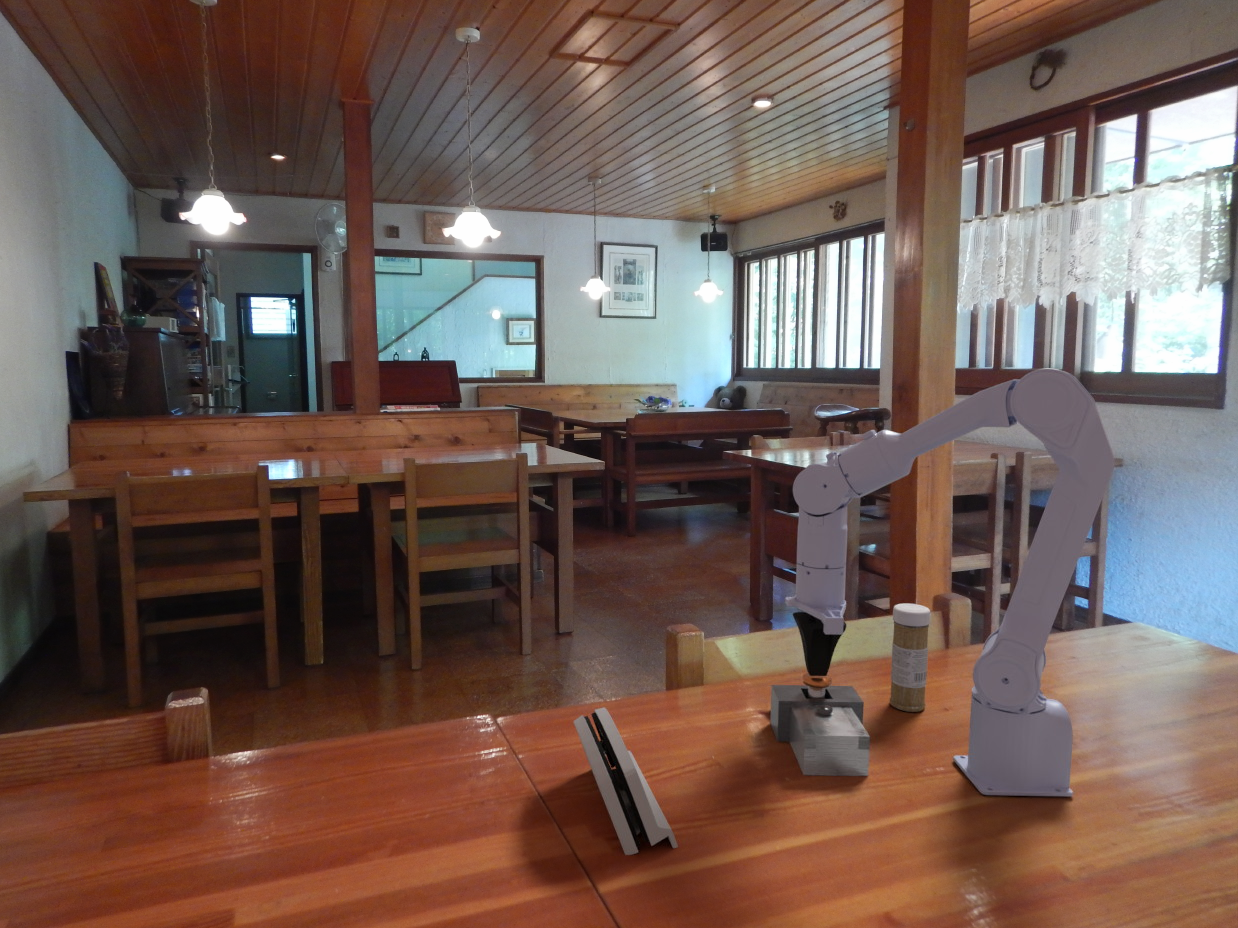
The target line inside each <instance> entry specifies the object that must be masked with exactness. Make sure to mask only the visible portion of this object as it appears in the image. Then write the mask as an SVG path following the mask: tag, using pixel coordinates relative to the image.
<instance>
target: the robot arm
mask: <svg viewBox="0 0 1238 928" xmlns="http://www.w3.org/2000/svg"><path fill="white" fill-rule="evenodd" d="M1017 423H1018V424H1019V425H1021V426H1022V427H1023V428H1024V429H1025V430H1026V431H1027V432H1029V433H1030V434H1031V435H1033V436H1034V437H1036V438H1037V439H1038V440H1039V441H1040V442H1041V443H1042V444H1043V446H1044V448H1045V450H1046V451H1047V453H1048V455H1050V457H1051V459H1052V460H1053V462H1054V463H1055V465H1056V467H1057V468H1058V473H1057V476H1056V478H1055V482H1054V484H1053V486H1052V489H1051V492H1050V494H1049V497H1048V499H1047V502H1046V505H1045V507H1044V511H1043V513H1042V514H1041V515H1042V516H1041V518H1040V520H1039V524H1038V526H1037V529H1036V531H1035V534H1034V537H1033V540H1032V542H1031V545H1030V548H1029V550H1028V552H1027V555H1026V558H1025V561H1024V564H1023V566H1022V568H1021V572H1020V574H1019V577H1018V579H1017V581H1016V584H1015V588H1014V589H1013V593H1012V595H1011V598H1010V601H1009V603H1008V605H1007V609H1006V610H1005V614H1004V616H1003V619H1002V621H1001V624H1000V626H999V627H998V628H997V629H996V630H995V631H993V632H992V633H990V635H989V636H988V637H987V638H986V640H985V641H984V644H983V648H982V652H981V654H980V656H979V658H977V660H976V662H975V664H974V665H973V666H974V667H973V669H972V681H973V684H974V685H973V686H972V688H971V697H970V698H971V699H970V714H969V715H970V717H969V720H970V721H969V735H968V736H969V738H968V749H967V750H968V753H967V755H957V754H956V755H954V756H953V757H952V759H953V762H955V764H956V765H957V766H958V767H959V768H960V770H961V771H962V772H963V774H964V775H965V776H966V777H967V778H968V779H969V781H971V783H972V784H973V785H974V787H975V788H976V789H977V790H978V791H979V793H980V794H982V795H985V796H1019V797H1020V796H1022V797H1023V796H1026V797H1073V796H1074V791H1073V790H1072V789H1071V788H1070V786H1071V785H1070V784H1071V783H1070V782H1071V772H1072V771H1071V769H1072V755H1073V745H1074V743H1073V742H1074V741H1073V740H1074V735H1073V734H1074V733H1073V724H1072V720H1071V717H1070V714H1069V712H1068V711H1067V709H1066V707H1065V706H1064V704H1063V703H1062V702H1060V701H1059V700H1057V699H1052V698H1047V697H1046V695H1044V694H1043V691H1042V690H1041V688H1042V682H1041V681H1042V680H1041V679H1042V676H1043V675H1042V674H1043V672H1044V670H1045V667H1046V664H1047V654H1046V650H1045V649H1046V645H1047V642H1048V639H1049V637H1050V634H1051V630H1052V627H1053V624H1054V622H1055V620H1056V618H1057V615H1058V612H1059V609H1060V607H1061V605H1062V602H1063V599H1064V597H1065V595H1066V592H1067V590H1068V587H1069V584H1070V582H1071V579H1072V577H1073V574H1074V571H1075V569H1076V567H1077V565H1078V562H1079V559H1080V556H1081V553H1082V552H1083V548H1084V546H1085V543H1086V542H1087V541H1086V540H1087V539H1088V536H1089V534H1090V531H1091V528H1092V526H1093V524H1094V521H1095V519H1096V515H1097V514H1098V511H1099V508H1100V506H1101V502H1102V500H1103V498H1104V495H1105V493H1106V490H1107V487H1108V485H1109V482H1110V480H1111V477H1112V475H1113V472H1114V470H1115V464H1116V461H1115V455H1114V452H1113V449H1112V447H1111V444H1110V441H1109V438H1108V435H1107V432H1106V430H1105V427H1104V424H1103V420H1102V418H1101V415H1100V412H1099V408H1098V406H1097V403H1096V401H1095V398H1094V397H1093V396H1092V395H1091V394H1090V392H1089V391H1088V390H1087V388H1085V386H1084V385H1083V384H1082V383H1081V381H1080V380H1079V379H1077V377H1076V376H1075V375H1073V374H1072V373H1069V372H1067V371H1065V370H1061V369H1057V368H1049V367H1047V368H1040V369H1035V370H1032V371H1030V372H1028V373H1027V374H1025V375H1024V376H1023V377H1021V378H1020V379H1017V378H1015V379H1011V380H1008V381H1005V382H1001V383H1000V384H999V383H998V384H995V385H994V386H991V387H988V388H985V389H983V390H979V391H978V392H976V393H974V394H972V395H970V396H968V397H966V398H964V399H963V400H961V401H959V402H957V403H955V404H953V405H951V406H950V407H948V408H947V409H944V410H942V411H941V412H939V413H937V414H935V415H933V416H932V417H929V418H928V419H926V420H924V421H922V422H921V423H919V424H916V425H915V426H913V427H911V428H909V429H908V430H906V431H904V432H903V433H900V432H895V431H892V430H889V429H882V430H880V431H878V432H877V431H876V430H875V429H871V430H868V431H866V432H864V433H863V434H862V435H861V438H862V439H863V440H860V441H858V442H857V443H855V444H853V445H851V446H849V447H848V448H845V449H844V450H841V451H839V452H838V453H837V451H836V450H834V451H833V450H832V451H830V452H829V453H828V454H826V455H825V458H826V462H822V463H812V464H809V465H807V466H806V467H805V468H804V469H803V470H801V471H800V472H799V473H798V474H797V475H796V477H795V479H794V481H793V485H792V495H793V499H794V501H795V502H796V504H797V505H798V524H797V540H796V542H797V543H796V544H797V545H796V570H795V571H796V572H795V573H796V575H795V577H796V578H795V595H794V596H785V602H784V603H785V604H786V606H787V607H789V608H796V609H799V610H801V611H795V612H793V613H792V617H793V618H794V621H795V623H796V626H797V628H798V631H799V632H798V633H799V635H800V639H801V643H802V649H803V656H804V662H805V667H806V671H807V673H809V675H810V676H827V675H828V672H829V670H830V667H831V663H832V659H833V656H834V652H835V649H836V647H837V645H838V642H839V641H840V638H841V637H842V635H844V632H845V631H846V629H847V623H846V622H845V619H844V614H845V611H846V608H847V601H846V600H845V599H846V598H845V597H846V580H847V579H846V577H847V576H846V575H847V574H846V573H847V552H848V551H847V549H848V530H849V529H848V507H849V506H848V505H849V504H850V503H851V502H852V501H853V499H860V498H863V497H864V496H867V495H869V494H871V493H873V492H875V491H877V490H880V489H881V488H883V487H886V486H888V485H890V484H892V483H894V482H895V481H899V480H901V479H902V478H904V477H906V476H909V474H910V473H911V471H912V468H913V463H914V462H915V460H916V458H918V457H919V456H922V455H924V454H927V453H928V452H929V453H930V452H931V451H932V450H935V449H937V448H939V447H941V446H943V445H946V444H948V443H951V442H952V441H954V440H957V439H959V438H961V437H963V436H965V435H967V434H970V433H972V432H974V431H978V429H980V428H1011V427H1013V426H1015V425H1018V424H1017Z"/></svg>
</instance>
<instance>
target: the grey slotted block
mask: <svg viewBox="0 0 1238 928" xmlns="http://www.w3.org/2000/svg"><path fill="white" fill-rule="evenodd" d="M590 714H591V717H592V720H593V723H594V726H595V728H596V730H595V728H594V726H593V724H592V722H591V720H590V718H589V716H588V715H586V716H584V715H583V714H582V715H580V716H578V717H577V718H576V719H574V720H573V722H572V723H573V724H574V726H575V730H576V732H577V734H578V737H579V740H580V742H581V746H582V748H583V751H584V753H585V756H586V759H587V761H588V764H589V766H590V767H589V768H590V769H591V772H592V775H593V776H594V780H595V781H596V785H597V787H598V790H599V792H600V794H601V797H602V800H603V802H604V804H605V807H606V809H607V812H608V814H609V818H610V819H611V822H612V826H613V827H614V829H615V832H616V834H617V837H618V840H619V843H620V845H621V848H622V850H623V852H624V855H625V856H631V855H635V854H638V853H639V850H638V848H640V847H641V846H642V845H641V842H640V840H639V837H638V836H639V834H640V833H641V836H642V839H643V841H644V844H648V843H650V846H651V847H653V846H654V845H656V844H657V843H660V842H661V841H662V840H664V839H666V838H667V839H668V841H669V843H670V845H671V847H672V849H675V848H679V846H678V843H677V839H676V838H675V835H674V832H673V829H672V828H671V826H670V824H669V823H668V820H667V817H666V816H665V813H663V811H662V808H661V806H660V805H659V803H658V801H657V799H656V797H655V795H654V793H653V791H652V790H651V787H650V785H649V783H648V782H647V780H646V778H645V776H644V774H643V772H642V771H641V768H640V767H639V765H638V763H637V761H636V759H635V757H634V755H633V753H632V751H631V750H628V749H627V746H626V744H625V742H624V739H623V738H622V736H621V733H620V732H619V730H618V728H617V725H616V723H615V722H614V720H613V718H612V716H611V714H610V712H609V711H608V709H607V708H606V707H605V706H604V707H601V708H596V709H593V712H592V713H590ZM596 731H597V733H596ZM597 734H598V735H597Z"/></svg>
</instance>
